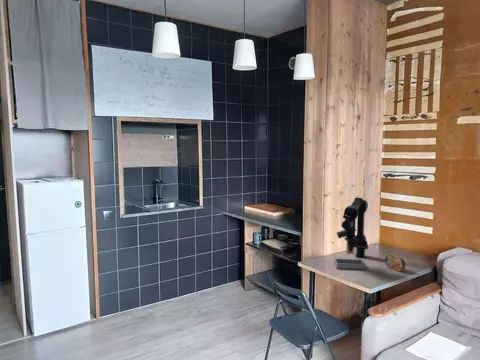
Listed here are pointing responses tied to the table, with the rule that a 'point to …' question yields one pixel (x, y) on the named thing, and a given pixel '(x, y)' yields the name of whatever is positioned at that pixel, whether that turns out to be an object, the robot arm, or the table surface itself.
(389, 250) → the table surface
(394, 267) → the tin
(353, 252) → the block
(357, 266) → the bin
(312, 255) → the table surface
